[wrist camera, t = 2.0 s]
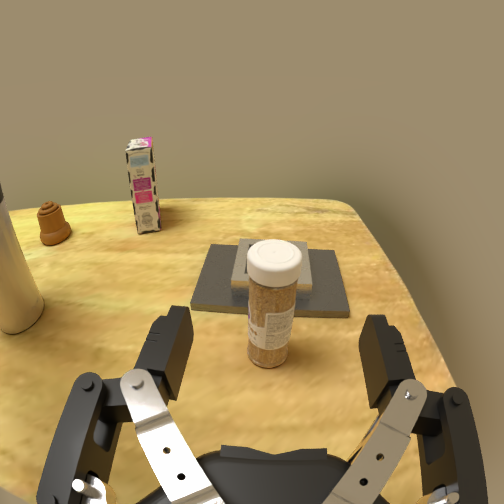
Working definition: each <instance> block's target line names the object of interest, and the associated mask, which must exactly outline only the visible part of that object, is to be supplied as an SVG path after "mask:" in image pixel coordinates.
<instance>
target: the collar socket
mask: <svg viewBox="0 0 504 504" xmlns="http://www.w3.org/2000/svg"><path fill="white" fill-rule="evenodd" d="M260 241H263V240H259V239H240V241H239V245H218V244H211V246H210V248H209V251H208V254H207V257H206V259H205V262H204V265H203V268H202V271H201V274H200V276H199V279H198V282H197V285H196V288H195V291H194V294H193V296H192V299H191V302H190V304H191V310H199V311H211V312H224V313H237V314H248V301H249V275H248V272H247V253H248V250H249V249H250V247H251V246H253V245H254V244H255V243H257V242H260ZM286 242H289V243H291V244H293V245H295V246H296V247H297V248H298V249H299V250H300V251H301V253H302V268H301V274H300V276H299V278H298V282H297V289H296V302H295V309H294V316H293V317H324V318H348V315H349V312H350V310H349V306H348V302H347V298H346V293H345V289H344V285H343V281H342V278H341V274H340V270H339V266H338V262H337V259H336V255H335V251H334V250H318V249H308V248H307V242H299V241H286Z"/></svg>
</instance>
